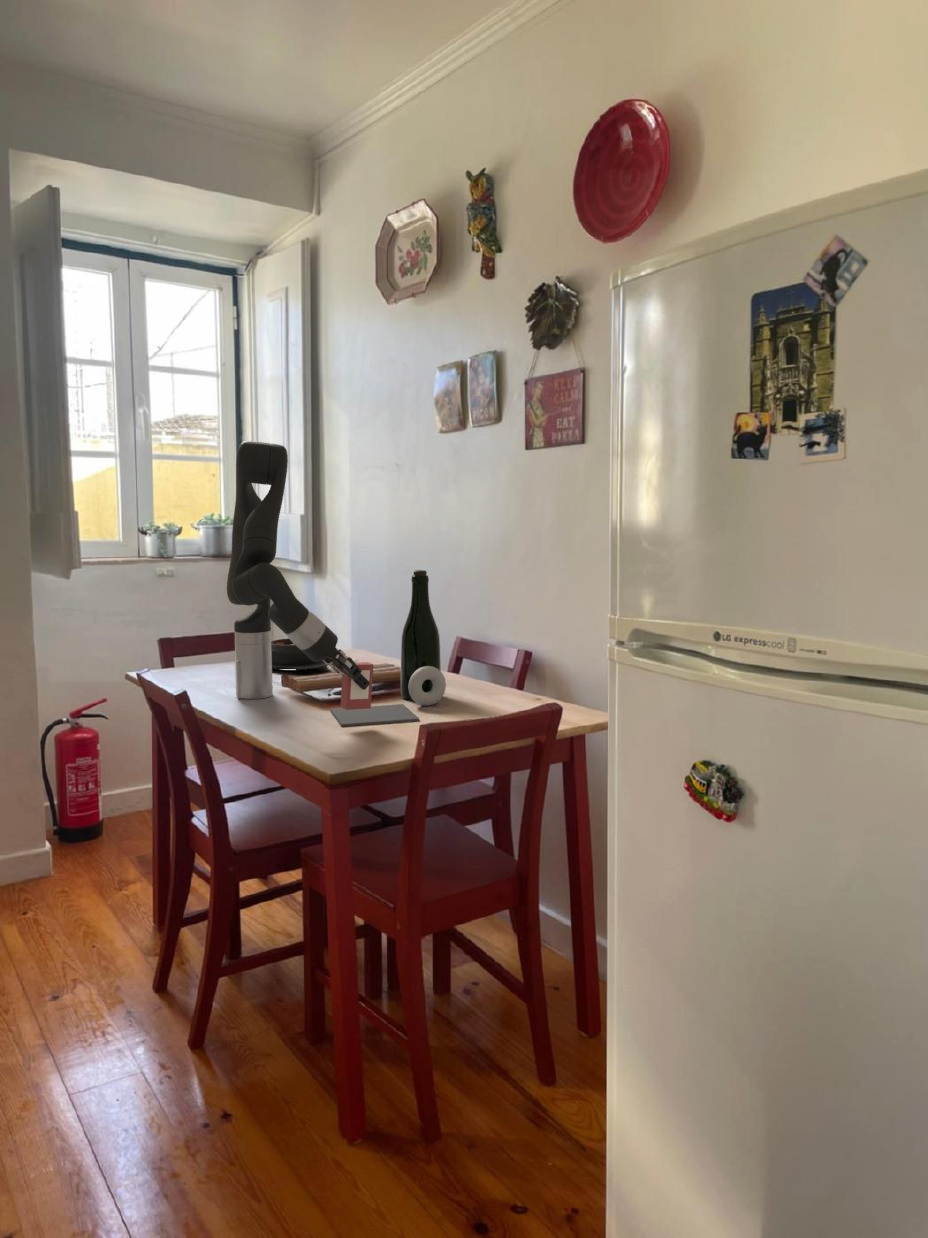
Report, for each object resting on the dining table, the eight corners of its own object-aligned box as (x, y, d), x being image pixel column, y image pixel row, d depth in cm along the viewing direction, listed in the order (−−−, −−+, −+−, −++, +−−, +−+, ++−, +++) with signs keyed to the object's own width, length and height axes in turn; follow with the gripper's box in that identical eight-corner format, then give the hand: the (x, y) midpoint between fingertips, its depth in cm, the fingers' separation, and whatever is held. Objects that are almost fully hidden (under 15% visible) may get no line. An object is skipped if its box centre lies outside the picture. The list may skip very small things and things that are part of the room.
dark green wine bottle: (397, 694, 236) (395, 569, 232) (435, 692, 239) (434, 568, 235) (405, 702, 226) (404, 572, 222) (445, 700, 229) (445, 571, 225)
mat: (341, 726, 201) (341, 724, 201) (330, 711, 216) (330, 709, 216) (419, 721, 207) (419, 718, 206) (402, 706, 222) (402, 704, 222)
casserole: (247, 666, 278) (247, 640, 277) (300, 659, 290) (299, 634, 289) (290, 678, 259) (289, 649, 258) (343, 670, 272) (343, 642, 271)
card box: (346, 709, 197) (348, 664, 196) (340, 707, 200) (342, 662, 199) (370, 708, 200) (373, 664, 199) (364, 705, 203) (367, 662, 202)
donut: (442, 702, 226) (442, 663, 225) (448, 705, 223) (448, 665, 222) (406, 706, 222) (405, 666, 221) (411, 709, 219) (411, 668, 217)
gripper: (335, 626, 187) (388, 677, 195) (309, 618, 199) (360, 667, 207) (312, 653, 185) (366, 704, 193) (287, 643, 197) (339, 692, 205)
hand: (362, 684), depth 200 cm, fingers closed on card box, 3 cm apart
